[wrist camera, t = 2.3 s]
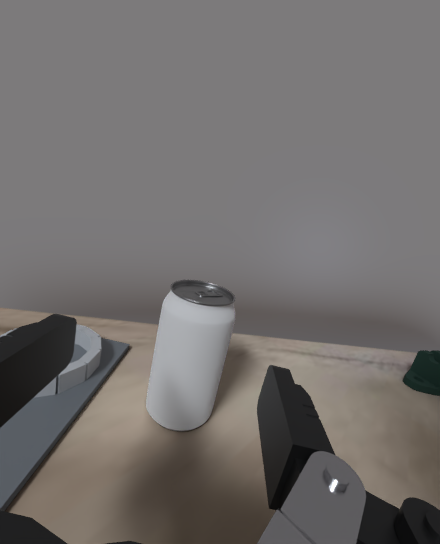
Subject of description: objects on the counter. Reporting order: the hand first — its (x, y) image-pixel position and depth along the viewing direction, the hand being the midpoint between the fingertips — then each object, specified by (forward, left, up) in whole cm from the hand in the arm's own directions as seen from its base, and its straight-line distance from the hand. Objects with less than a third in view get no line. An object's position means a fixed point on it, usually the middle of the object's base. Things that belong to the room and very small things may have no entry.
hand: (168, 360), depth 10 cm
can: (0, -11, -13) cm, 17 cm away
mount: (-37, -26, -13) cm, 47 cm away
